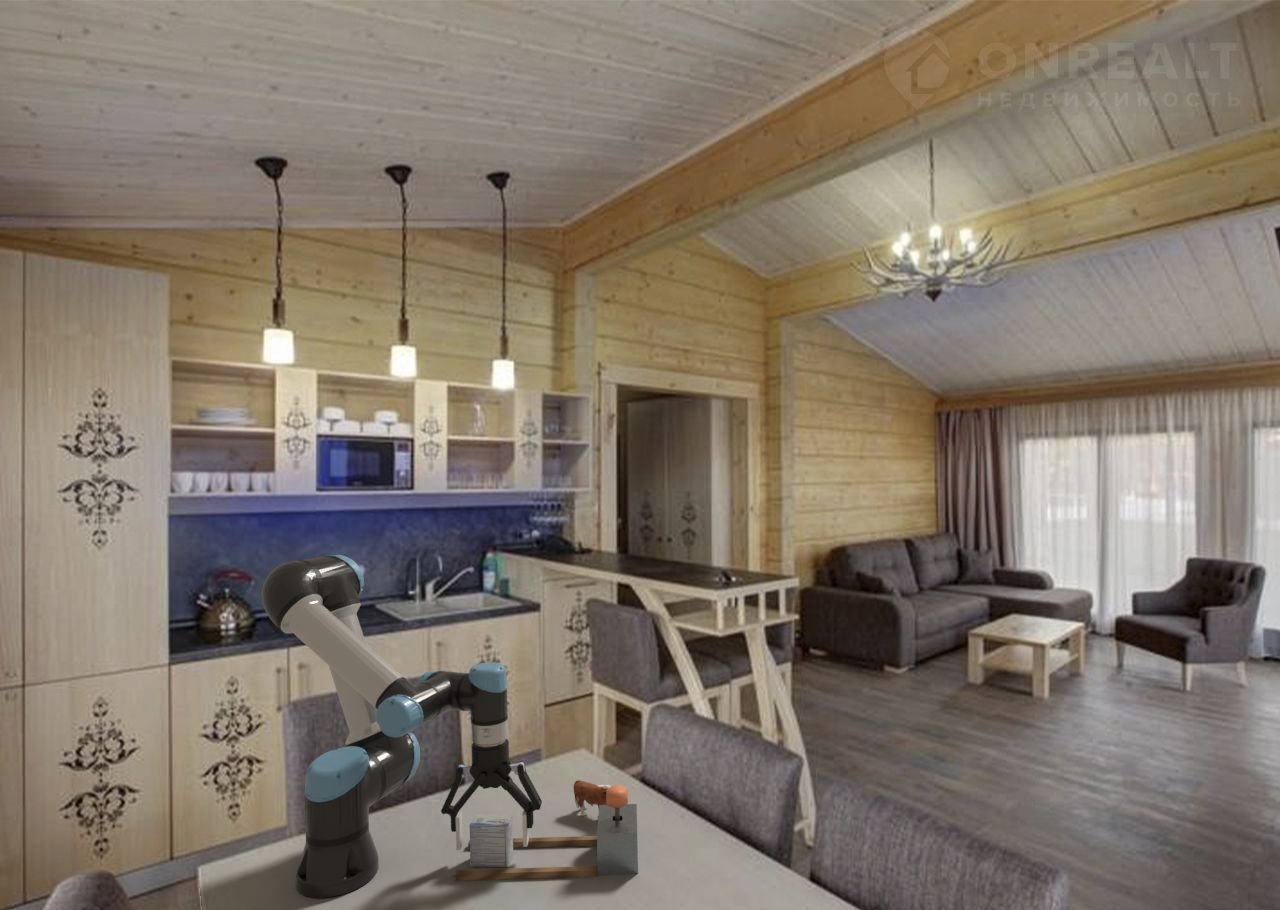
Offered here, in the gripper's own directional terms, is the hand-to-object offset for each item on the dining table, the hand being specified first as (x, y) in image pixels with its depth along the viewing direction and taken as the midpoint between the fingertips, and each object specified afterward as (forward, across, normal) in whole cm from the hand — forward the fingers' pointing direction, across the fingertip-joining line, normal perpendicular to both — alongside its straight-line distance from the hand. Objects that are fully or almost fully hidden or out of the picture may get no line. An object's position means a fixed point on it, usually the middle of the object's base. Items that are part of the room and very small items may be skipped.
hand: (493, 845), depth 144 cm
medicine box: (+4, 0, 0) cm, 4 cm away
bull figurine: (+4, +21, +18) cm, 27 cm away
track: (+3, +8, 0) cm, 8 cm away
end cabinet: (+4, +26, 0) cm, 26 cm away
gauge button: (-4, +26, 0) cm, 26 cm away
